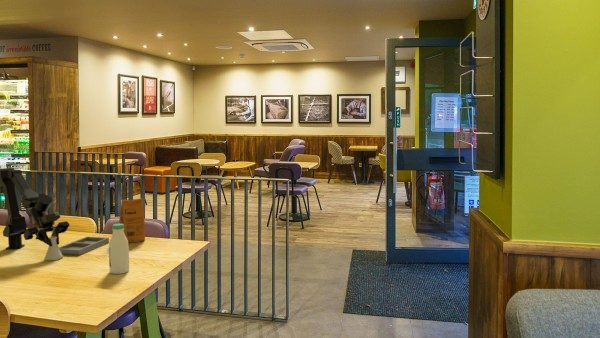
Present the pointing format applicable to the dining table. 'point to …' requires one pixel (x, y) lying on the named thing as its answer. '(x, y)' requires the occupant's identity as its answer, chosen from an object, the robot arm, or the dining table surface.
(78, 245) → the caddy tray
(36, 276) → the dining table surface
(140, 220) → the coffee package
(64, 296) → the dining table surface
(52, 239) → the flask
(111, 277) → the dining table surface
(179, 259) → the dining table surface
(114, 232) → the milk bottle
